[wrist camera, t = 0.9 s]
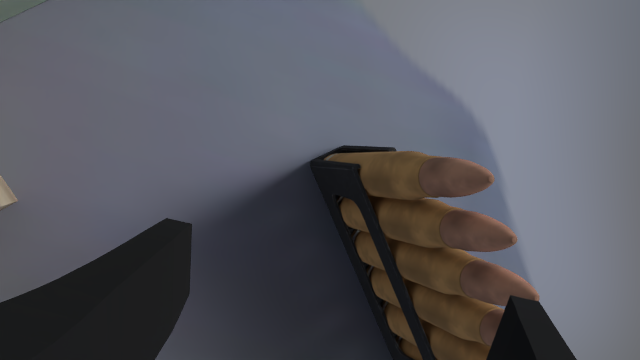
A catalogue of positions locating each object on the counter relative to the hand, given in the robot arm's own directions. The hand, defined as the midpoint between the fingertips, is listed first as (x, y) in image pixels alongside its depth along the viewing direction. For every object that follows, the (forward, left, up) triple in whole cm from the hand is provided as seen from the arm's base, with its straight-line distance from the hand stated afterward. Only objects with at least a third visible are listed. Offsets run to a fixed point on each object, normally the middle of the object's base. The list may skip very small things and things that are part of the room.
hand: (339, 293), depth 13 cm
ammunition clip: (+5, -4, -13) cm, 14 cm away
